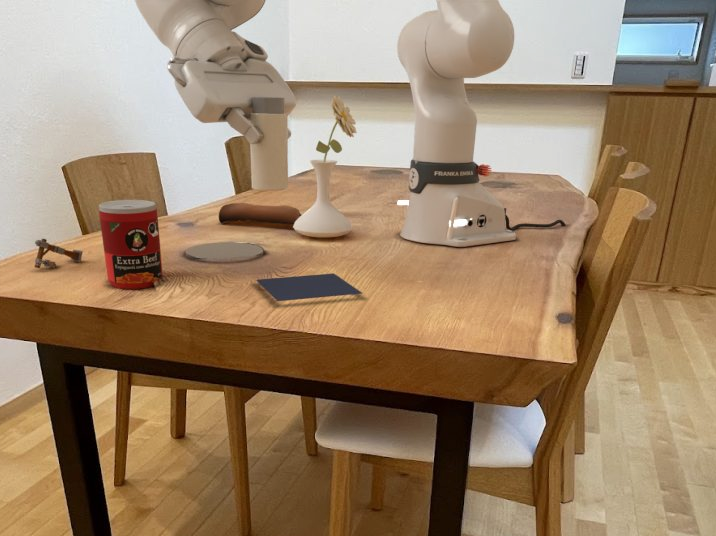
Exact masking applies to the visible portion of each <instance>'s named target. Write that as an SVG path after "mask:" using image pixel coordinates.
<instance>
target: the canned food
mask: <svg viewBox="0 0 716 536" xmlns="http://www.w3.org/2000/svg"><path fill="white" fill-rule="evenodd" d="M98 213H99V223H100V231H101V238H102V246H103V252H104V260H105V261H104V262H105V269H106V276H107V280H108V282H109V284H110V286H111V287H114V288H116V289H122V290H139V289H147V288H152V287H155V283H154V282H157V281H160V280H161V279H162V278H163V276H164V275H163V262H162V252H161V251H162V249H161V240H160V228H159V227H160V226H159V217H158V208H157V204H156V203H155V201H151V200H145V199H117V200H109V201H104V202H102V203H99V204H98Z"/></svg>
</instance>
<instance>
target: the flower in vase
mask: <svg viewBox="0 0 716 536" xmlns="http://www.w3.org/2000/svg"><path fill="white" fill-rule="evenodd" d="M330 102H331V105H330V106H331V109H332V114H333V115H334V120H335V123H334V125H333V127H332V130H331V132H330V135H329V139H328V143H327V144H325V143H324V142H322V141H320V140H318V142H317V145H316V148H315V151H317V152H319V153H321V154H324V156H323V159H311V160H309V162H310V164H311V165H312V167H313V169H314V172H315V177H316V188H317V189H316V191H317V192H316V199H315V202H314V203H313V205H311V207H309V208H308V209H307V210H306V211H305V212H304V213H302V214H301V216H300V217H299V218H298V219H297V220H296V221H295V223H294V225H292V228H293V230H294V231H295V232H296V233H298V234H300V235H301V236H302V235H303V236H306V237H310V238H311V237H312V238H322V239H323V238H326V239H327V238H336V237H342V236H345V235H347V234H350V233H351V232H352V230H353V225H352V223H351V222H350V220H349V219H348V218H347V217H346V216H345V215H344V214H343V213H342V212H340V211H339V210H338V209H337V208H336V207H335V206H334V205H333V203H332V201H331V198H330V182H331V176H332V173H333V169H334V168H335V166H336V165H337V163H338V160H333V159H327V156H328V152H329V151H330V149H332V151H333V152H335V153H336V154H339V153H341V152H342V150H343V147H342V144H341V143H340V142H339V141H338V140H336V139H335V138H333V139H332V137H333V134H334V131H335V130H336V127H337V125H338V126H339V128H340V129H341V131H342V133H344V134H346V136H349V138H354V137H355V135H354V134H357V129H356V126H355V125H356V121H355V119H354V118H353V115H351V114H350V111H351V110H350V107H349V106H345V105H344V104H345V103H344V101H343V99H342V97H341V96H339V95H338V97H337V95H336V94H334V95H333V97H332V98H331V101H330Z"/></svg>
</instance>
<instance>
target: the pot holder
mask: <svg viewBox="0 0 716 536" xmlns="http://www.w3.org/2000/svg"><path fill="white" fill-rule="evenodd" d="M255 281H256V283H258V284H259V285H260V286H261V287H262V288H264V290H265V291H267V293H269V295H271V297H272V298H274V300H275V301H276V302H283V301H284V302H285V301H295V300H297V301H298V300H306V299H308V300H309V299H316V298H317V299H318V298H328V297H340V296H350V295H351V296H352V295H361V294H363V292H362V291H361V290H359V289H358V288H357V287H355V286H353V285H352V284H351V283H349V282H347V281H346V280H344V279H343V278H342V277H340V276H339V275H337V274H335V273H334V272H333V273H321V274H309V275H297V276H283V277H271V278H258V279H255Z"/></svg>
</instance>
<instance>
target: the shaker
mask: <svg viewBox="0 0 716 536" xmlns="http://www.w3.org/2000/svg"><path fill="white" fill-rule="evenodd" d="M249 115H250V122H251V123H252V124H253V125H254V126H258V127H259V128H260V130H261V131H262V132H263V134H264V138H263V139H262V140H261V142H260V143H258V144H250V143H249V145H250V175H251V178H250V179H251V189H253V190H255V191H265V192H269V191H270V192H275V191H276V192H279V191H285V190H288V189H289V144H288V143H289V139H288V129H289V127H288V122H289V121H288V119H289V118H288V116H287V113H285V107H284V97H252V112H251V113H249Z"/></svg>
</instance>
